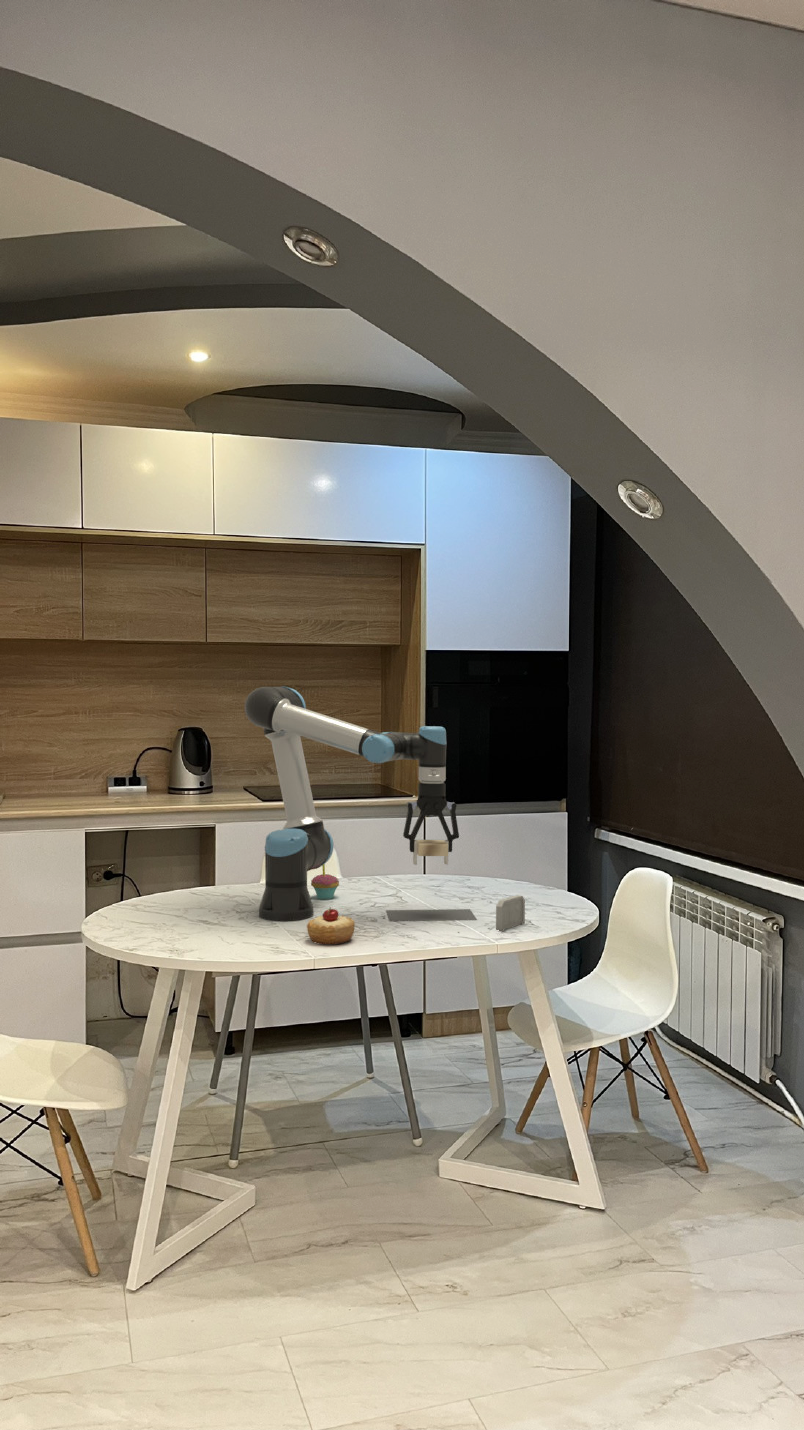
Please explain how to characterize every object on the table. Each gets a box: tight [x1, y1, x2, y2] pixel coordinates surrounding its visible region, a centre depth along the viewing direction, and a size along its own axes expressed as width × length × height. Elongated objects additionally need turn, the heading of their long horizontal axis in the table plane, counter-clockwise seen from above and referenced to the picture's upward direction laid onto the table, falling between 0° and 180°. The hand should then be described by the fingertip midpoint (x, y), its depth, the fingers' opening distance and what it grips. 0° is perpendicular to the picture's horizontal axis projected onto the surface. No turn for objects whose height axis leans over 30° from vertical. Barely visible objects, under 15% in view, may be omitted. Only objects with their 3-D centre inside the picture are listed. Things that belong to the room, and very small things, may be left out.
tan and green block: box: [416, 839, 449, 857], centre depth 292 cm, size 8×3×10 cm
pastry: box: [306, 906, 356, 945], centre depth 265 cm, size 12×12×9 cm
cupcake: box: [310, 863, 340, 900], centre depth 318 cm, size 9×8×12 cm
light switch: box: [495, 894, 526, 932], centre depth 281 cm, size 2×12×8 cm, turn 143°
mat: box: [385, 908, 478, 922], centre depth 292 cm, size 24×14×1 cm, turn 95°
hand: (430, 863), depth 292 cm, fingers closed on tan and green block, 8 cm apart
